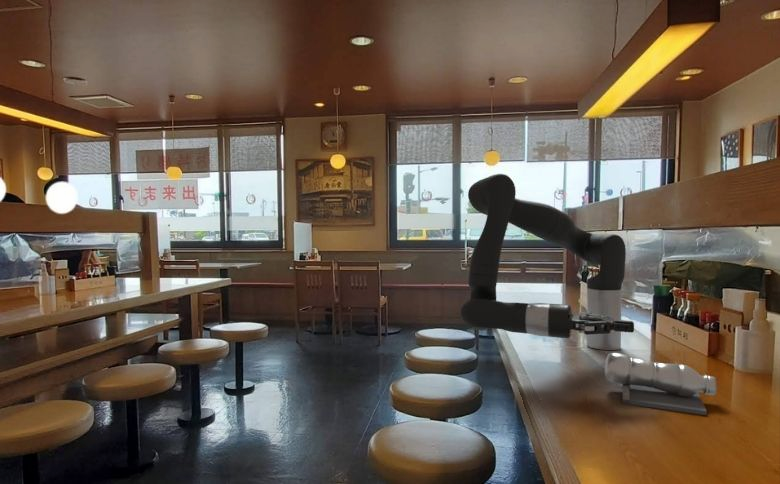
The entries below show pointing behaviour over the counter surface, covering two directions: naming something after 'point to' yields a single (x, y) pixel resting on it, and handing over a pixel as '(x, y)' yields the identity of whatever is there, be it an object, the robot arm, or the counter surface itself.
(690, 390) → the silver aluminum bottle
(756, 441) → the counter surface
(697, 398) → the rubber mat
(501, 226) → the robot arm
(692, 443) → the counter surface
